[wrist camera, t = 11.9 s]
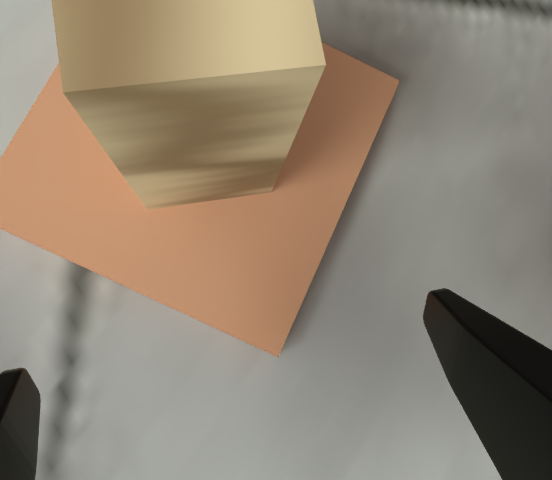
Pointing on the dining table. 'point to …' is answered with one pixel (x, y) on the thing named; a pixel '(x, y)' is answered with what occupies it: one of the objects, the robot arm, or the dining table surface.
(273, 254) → the terracotta tile
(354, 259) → the dining table surface
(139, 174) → the maple block
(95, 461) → the dining table surface
